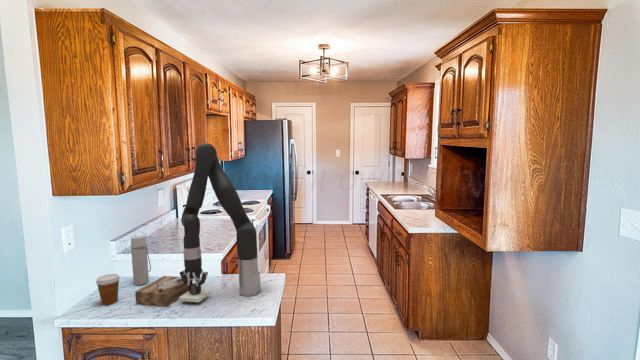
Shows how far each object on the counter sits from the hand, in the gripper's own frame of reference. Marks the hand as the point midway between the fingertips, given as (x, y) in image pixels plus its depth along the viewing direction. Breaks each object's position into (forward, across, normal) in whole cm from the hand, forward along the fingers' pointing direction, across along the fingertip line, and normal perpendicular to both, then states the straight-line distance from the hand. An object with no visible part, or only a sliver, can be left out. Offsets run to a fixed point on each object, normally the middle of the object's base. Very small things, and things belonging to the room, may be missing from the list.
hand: (194, 292), depth 166 cm
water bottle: (+4, +41, -15) cm, 44 cm away
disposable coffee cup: (+4, +39, +9) cm, 40 cm away
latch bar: (-4, +9, 0) cm, 10 cm away
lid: (+2, 0, 0) cm, 2 cm away
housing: (+4, +17, -2) cm, 17 cm away
